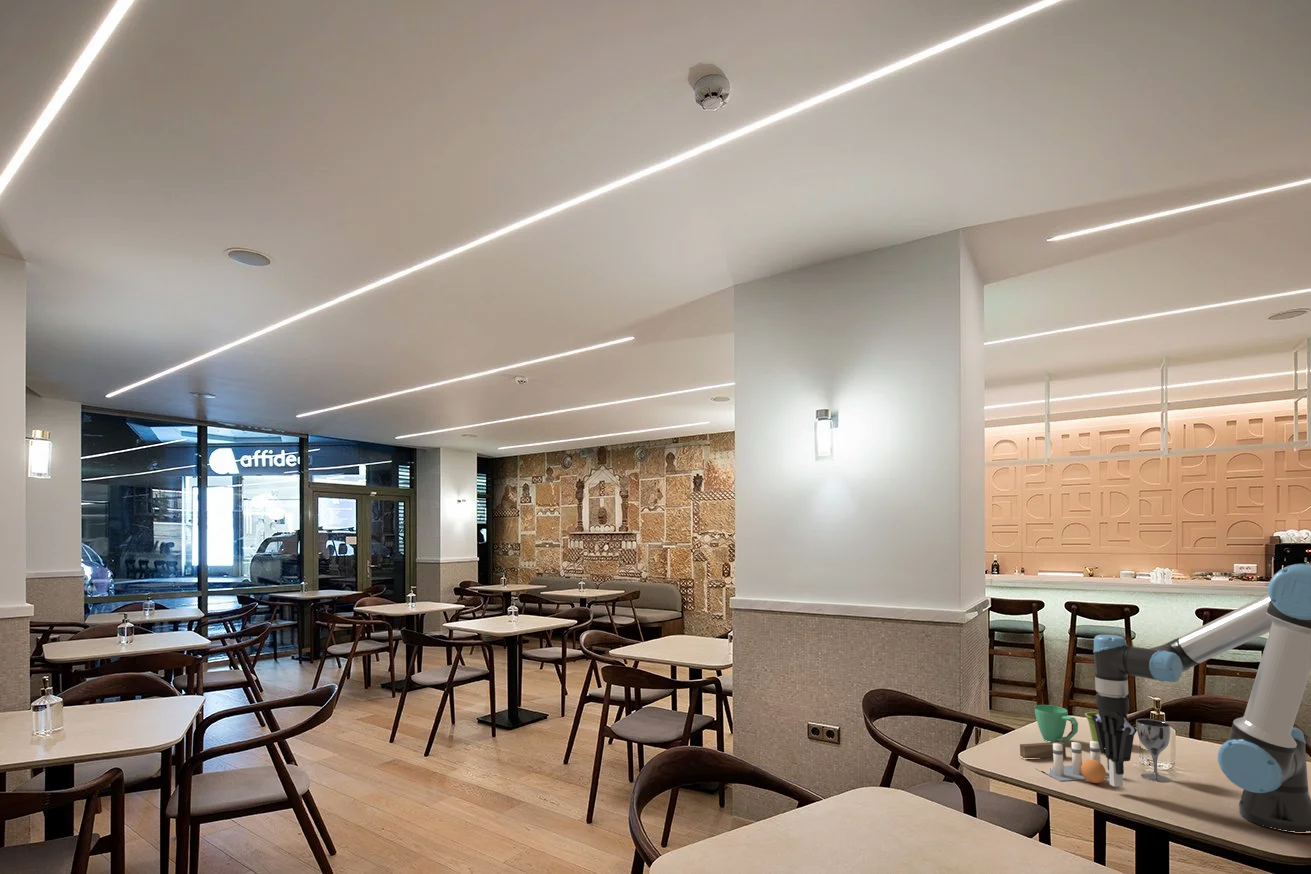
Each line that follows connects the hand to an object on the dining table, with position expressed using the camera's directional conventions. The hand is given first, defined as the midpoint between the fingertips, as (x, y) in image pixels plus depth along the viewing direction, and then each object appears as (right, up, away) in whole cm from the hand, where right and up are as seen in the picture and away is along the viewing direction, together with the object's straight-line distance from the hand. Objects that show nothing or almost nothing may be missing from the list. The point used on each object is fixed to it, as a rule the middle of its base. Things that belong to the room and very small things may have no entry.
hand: (1116, 785), depth 194 cm
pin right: (+3, -4, +15) cm, 15 cm away
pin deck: (-3, -3, +15) cm, 15 cm away
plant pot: (+22, -6, +41) cm, 47 cm away
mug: (+8, -6, +42) cm, 43 cm away
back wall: (-5, -5, +27) cm, 28 cm away
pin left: (-8, -3, +13) cm, 15 cm away
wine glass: (+18, -3, +11) cm, 22 cm away
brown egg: (-2, 0, +8) cm, 8 cm away
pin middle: (-2, -3, +14) cm, 14 cm away
